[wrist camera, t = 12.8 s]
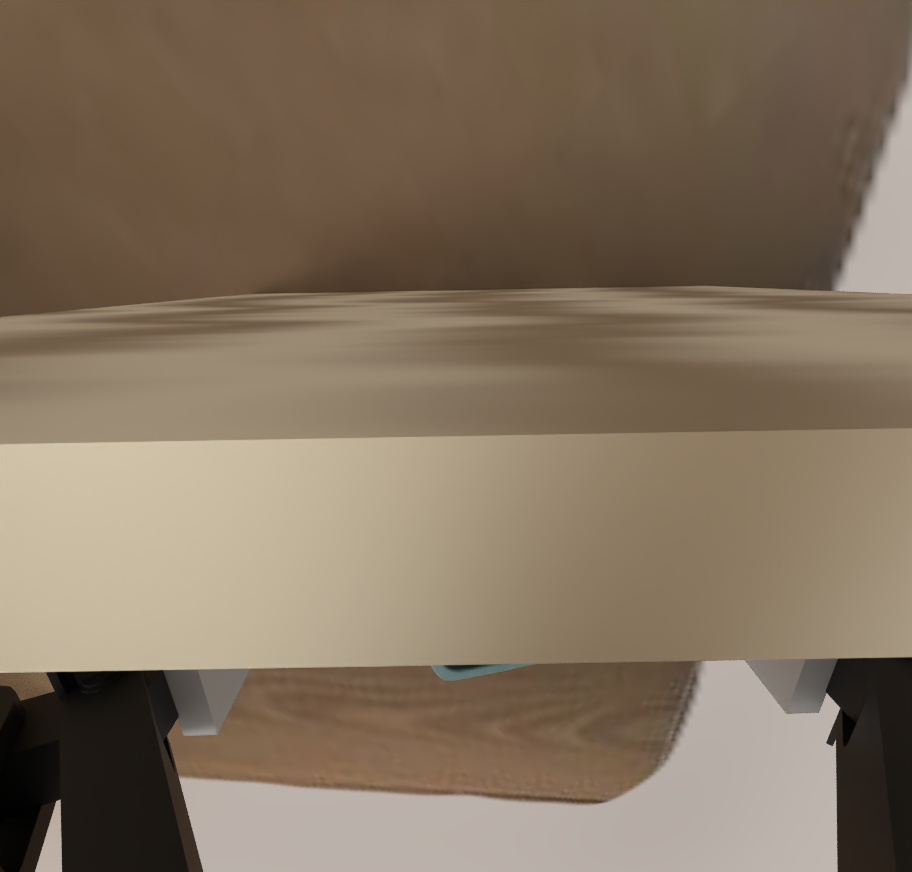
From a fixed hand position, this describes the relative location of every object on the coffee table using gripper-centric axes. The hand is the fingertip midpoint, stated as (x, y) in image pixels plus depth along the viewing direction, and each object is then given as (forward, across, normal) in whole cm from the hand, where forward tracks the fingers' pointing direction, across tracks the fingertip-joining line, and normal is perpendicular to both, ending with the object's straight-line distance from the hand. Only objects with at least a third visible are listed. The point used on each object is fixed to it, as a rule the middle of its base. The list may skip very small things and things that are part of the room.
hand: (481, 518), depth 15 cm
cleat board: (+11, +1, 0) cm, 11 cm away
